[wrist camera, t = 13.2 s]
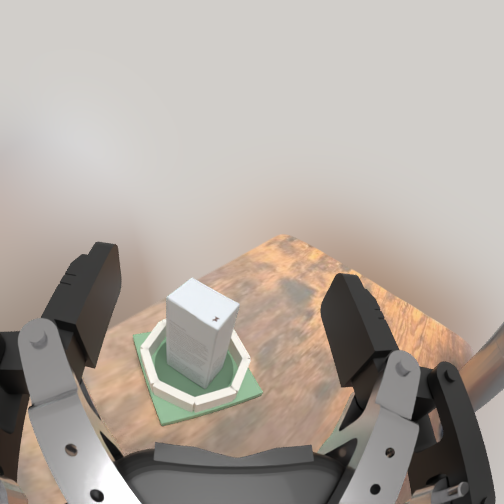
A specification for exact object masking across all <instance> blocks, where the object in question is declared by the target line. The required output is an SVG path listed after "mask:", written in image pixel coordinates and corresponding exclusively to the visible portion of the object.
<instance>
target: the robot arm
mask: <svg viewBox="0 0 504 504" xmlns="http://www.w3.org/2000/svg"><path fill="white" fill-rule="evenodd" d="M118 253H119V252H118V246H117V245H116V244H110V243H103V242H96V243H95V244H94V246H93V247H92V249H91V251H90V252H89V254H88V255H85V254H82V255H80V256H79V257H78V258H77V259H75V260H74V261H73V262H72V263H71V264H70V266H69V268H68V269H67V271H66V273H65V275H64V276H63V278H62V279H61V281H60V284H59V285H58V286H57V288H56V290H55V292H54V293H53V295H52V297H51V299H50V301H49V303H48V305H47V307H46V308H45V311H44V312H43V314H42V316H41V318H38V319H34V320H31V321H29V322H28V323H27V324H25V325H24V326H23V328H22V329H21V331H16V332H0V504H28V499H27V497H26V495H25V494H24V493H23V491H22V489H21V488H20V486H19V485H18V484H17V470H18V460H19V451H20V444H21V437H22V431H23V425H24V420H25V415H26V410H27V406H28V401H29V397H31V401H32V406H30V407H29V408H28V413H29V418H30V421H31V424H32V427H33V430H34V433H35V435H36V438H37V441H38V443H39V446H40V448H41V450H42V453H43V455H44V457H45V460H46V462H47V464H48V466H49V468H50V470H51V473H52V475H53V477H54V479H55V481H56V482H57V484H58V486H59V488H60V490H61V492H62V494H63V495H64V497H65V499H66V501H67V503H66V504H395V502H396V500H397V497H398V495H399V492H400V490H401V487H402V484H403V482H404V479H405V476H406V473H407V470H408V476H409V481H410V487H411V493H412V498H411V499H410V500H408V501H406V502H405V504H495V491H494V485H493V480H492V475H491V470H490V465H489V461H488V457H487V453H486V449H485V445H484V442H483V439H482V435H481V431H480V428H479V425H478V422H477V419H476V416H475V412H476V411H477V410H478V409H480V408H481V407H482V406H484V405H485V404H486V403H487V402H489V401H490V400H491V399H492V398H494V397H495V396H496V395H497V394H498V393H499V392H500V391H502V390H503V389H504V322H503V324H502V325H501V326H500V327H499V329H498V330H497V331H496V332H495V333H494V335H493V336H492V337H491V338H490V339H489V340H488V341H487V343H486V344H485V345H484V346H483V347H482V348H481V349H480V350H479V351H478V352H477V353H476V354H475V355H474V356H473V357H472V358H471V359H470V360H469V361H468V362H467V363H466V364H465V365H464V366H463V367H462V368H461V369H460V370H459V371H458V370H457V369H456V367H455V366H454V365H452V364H451V363H449V362H441V363H439V364H438V365H437V366H436V367H435V368H434V369H429V368H424V367H420V366H419V364H418V362H417V361H416V359H415V358H414V357H413V356H412V355H411V354H409V353H407V352H405V351H402V350H399V348H398V346H397V344H396V341H395V339H394V337H393V335H392V333H391V330H390V328H389V326H388V324H387V322H386V320H384V316H383V313H382V311H380V307H379V305H378V303H377V301H376V299H375V298H374V297H373V296H372V295H371V293H370V292H369V291H368V290H367V289H364V287H363V285H362V283H361V281H360V279H359V277H358V276H357V275H351V274H343V273H338V274H337V275H336V276H335V278H334V280H333V282H332V284H331V286H330V288H329V289H328V291H327V293H326V295H325V297H324V299H323V301H322V304H321V318H322V321H323V325H324V328H325V331H326V335H327V338H328V341H329V345H330V348H331V352H332V355H333V359H334V362H335V366H336V369H337V373H338V377H339V380H340V384H341V388H342V387H353V389H354V392H353V393H352V394H351V395H350V397H349V400H348V402H347V404H346V406H345V408H344V410H343V413H342V415H341V417H340V419H339V421H338V423H337V425H336V427H335V429H334V431H333V433H332V434H331V436H330V437H329V438H328V439H327V440H326V441H325V442H324V444H323V445H322V446H321V448H320V449H319V451H318V452H317V453H315V452H313V451H312V445H305V446H295V447H283V448H274V449H271V450H267V451H264V452H260V453H257V454H253V455H249V456H245V457H241V458H234V457H229V456H225V455H221V454H218V453H214V452H210V451H207V450H203V449H200V448H197V447H190V446H180V445H172V444H164V443H157V442H155V449H146V450H141V451H137V452H134V453H131V454H129V455H127V456H125V455H124V453H123V452H122V450H121V448H120V447H119V445H118V443H117V442H116V440H115V438H114V437H113V435H112V434H111V432H110V431H109V429H108V428H107V426H106V424H105V423H104V421H103V419H102V417H101V415H100V413H99V411H98V409H97V407H96V405H95V403H94V401H93V399H92V397H91V394H90V392H89V390H88V388H87V386H86V383H85V381H84V379H83V376H82V375H83V371H84V368H85V366H87V367H91V368H95V367H96V364H97V360H98V357H99V353H100V350H101V347H102V343H103V340H104V337H105V334H106V331H107V328H108V325H109V322H110V319H111V316H112V313H113V310H114V308H115V305H116V302H117V299H118V297H119V294H120V289H121V271H120V262H119V254H118ZM435 408H437V411H438V414H439V417H440V421H441V424H442V428H443V437H442V439H441V441H440V442H438V443H437V442H436V440H435V436H434V432H433V429H432V425H431V422H430V418H429V415H428V413H430V412H431V411H432V410H434V409H435Z"/></svg>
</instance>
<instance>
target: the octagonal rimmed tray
mask: <svg viewBox="0 0 504 504" xmlns="http://www.w3.org/2000/svg"><path fill="white" fill-rule="evenodd" d="M133 339H134V343H135V347H136V350H137V354H138V357H139V361H140V364H141V368H142V371H143V374H144V377H145V380H146V384H147V387H148V390H149V393H150V395H151V398H152V401H153V404H154V407H155V409H156V412H157V415H158V417H159V420H160V423H161V425H162V426H165V425H169V424H173V423H177V422H181V421H185V420H189V419H192V418H196V417H199V416H203V415H206V414H209V413H213V412H216V411H219V410H222V409H225V408H228V407H231V406H234V405H237V404H240V403H243V402H245V401H248V400H251V399H253V398H256V397H259V396H261V395H262V393H263V392H262V390H261V388H260V387H259V385H258V383H257V382H256V380H255V378H254V377H253V375H252V373H251V372H250V370H249V368H248V366H249V363H250V361H251V360H250V356H249V354H248V353H247V351H246V349H245V347H244V346H243V344H242V342H241V341H240V339H239V337H238V335H237V334H236V332H235V330H234V329H233V332H232V336H231V339H230V343H229V347H228V350H227V354H226V358H225V361H224V365H223V368H222V369H221V370H220V372H219V373H218V374H217V375H216V377H215V378H214V379H213V381H212V382H211V383H210V384H209V385H208V387H207V388H206V389H204V388H202V387H201V386H199V385H197V384H196V383H194V382H193V381H191V380H190V379H188V378H187V377H185V376H184V375H182V374H181V373H179V372H178V371H177V370H175V369H174V368H172V367H171V366H169V365H168V364H167V355H166V319H163V320H162V322H161V321H159V323H158V324H157V325H156V327H155V328H154V329H153V331H152V332H147V333H142V334H136V335H133Z"/></svg>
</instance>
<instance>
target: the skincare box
mask: <svg viewBox="0 0 504 504" xmlns="http://www.w3.org/2000/svg"><path fill="white" fill-rule="evenodd" d="M239 306H240V304H239V303H237V302H235V301H233V300H231V299H229V298H227V297H226V296H224V295H222V294H220V293H218V292H217V291H215V290H213V289H211V288H210V287H208V286H206V285H204V284H202V283H201V282H199V281H197V280H195V279H194V278H190V279H189V280H188V281H187V282H185V283H184V284H183V285H182V286H180V287H179V288H178V289H176V290H175V291H174V292H172V293H171V294H170V295H168V296H167V297H166V355H167V364H168V365H169V366H171V367H172V368H174V369H175V370H177V371H178V372H179V373H181V374H182V375H184V376H185V377H187V378H188V379H190V380H191V381H193V382H194V383H196V384H197V385H199V386H201V387H202V388H204V389H206V388H207V387H208V385H209V384H210V383H211V382H212V381H213V379H214V378H215V377H216V375H217V374H218V373H219V372H220V370H221V369H222V368H223V365H224V361H225V358H226V354H227V350H228V347H229V343H230V339H231V336H232V332H233V329H234V325H235V321H236V317H237V314H238V310H239Z"/></svg>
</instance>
